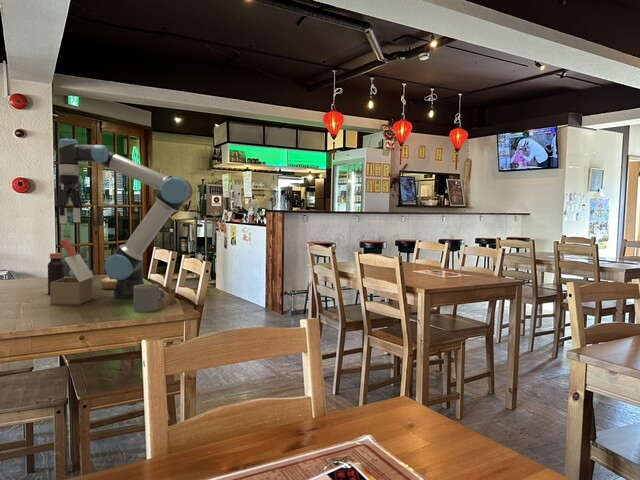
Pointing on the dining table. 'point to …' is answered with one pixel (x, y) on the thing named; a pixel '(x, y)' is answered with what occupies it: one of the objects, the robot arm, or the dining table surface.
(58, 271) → the bottle
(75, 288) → the carton
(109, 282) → the pastry
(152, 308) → the coffee mug
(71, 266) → the lid
